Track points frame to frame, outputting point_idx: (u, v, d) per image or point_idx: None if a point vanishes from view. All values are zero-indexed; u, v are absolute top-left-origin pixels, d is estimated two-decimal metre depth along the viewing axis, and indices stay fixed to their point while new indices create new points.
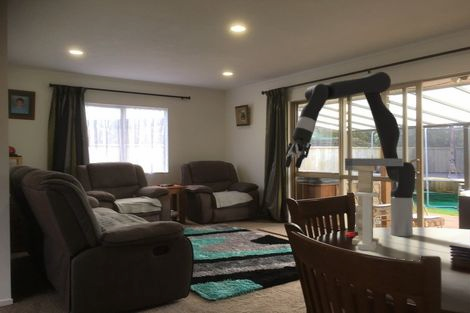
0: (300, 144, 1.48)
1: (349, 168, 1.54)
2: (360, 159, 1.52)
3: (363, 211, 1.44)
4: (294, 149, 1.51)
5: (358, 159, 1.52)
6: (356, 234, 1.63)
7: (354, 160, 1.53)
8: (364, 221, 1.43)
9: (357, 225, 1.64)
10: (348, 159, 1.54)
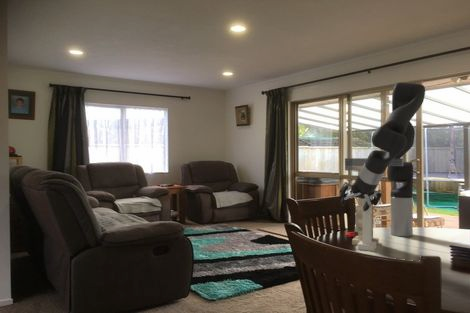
0: (370, 193, 1.36)
1: (349, 168, 1.54)
2: (360, 159, 1.52)
3: (363, 211, 1.44)
4: (359, 195, 1.37)
5: (358, 159, 1.52)
6: (356, 234, 1.63)
7: (354, 160, 1.53)
8: (364, 221, 1.43)
9: (357, 225, 1.64)
10: (348, 159, 1.54)
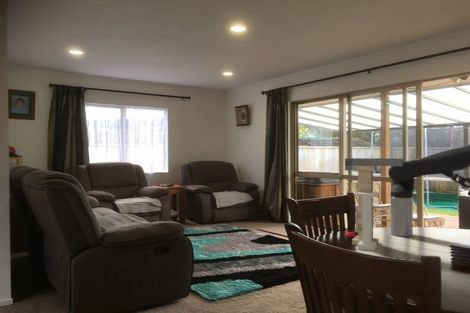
0: None
1: (349, 168, 1.54)
2: (360, 159, 1.52)
3: (363, 211, 1.44)
4: None
5: (358, 159, 1.52)
6: (356, 234, 1.63)
7: (354, 160, 1.53)
8: (364, 221, 1.43)
9: (357, 225, 1.64)
10: (348, 159, 1.54)
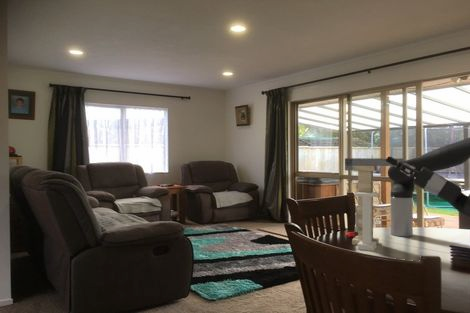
0: None
1: (349, 168, 1.54)
2: (360, 159, 1.52)
3: (363, 211, 1.44)
4: None
5: (358, 159, 1.52)
6: (356, 234, 1.63)
7: (354, 160, 1.53)
8: (364, 221, 1.43)
9: (357, 225, 1.64)
10: (348, 159, 1.54)
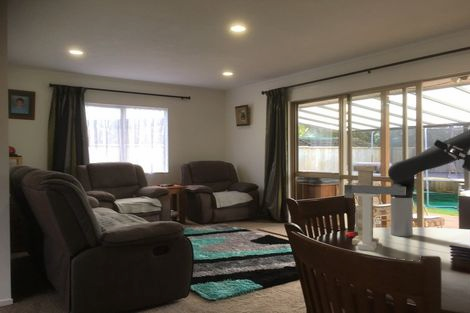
0: None
1: (348, 195, 1.46)
2: (360, 186, 1.44)
3: (363, 211, 1.44)
4: None
5: (358, 186, 1.44)
6: (356, 234, 1.64)
7: (354, 187, 1.45)
8: (364, 221, 1.43)
9: (357, 225, 1.64)
10: (348, 186, 1.46)
